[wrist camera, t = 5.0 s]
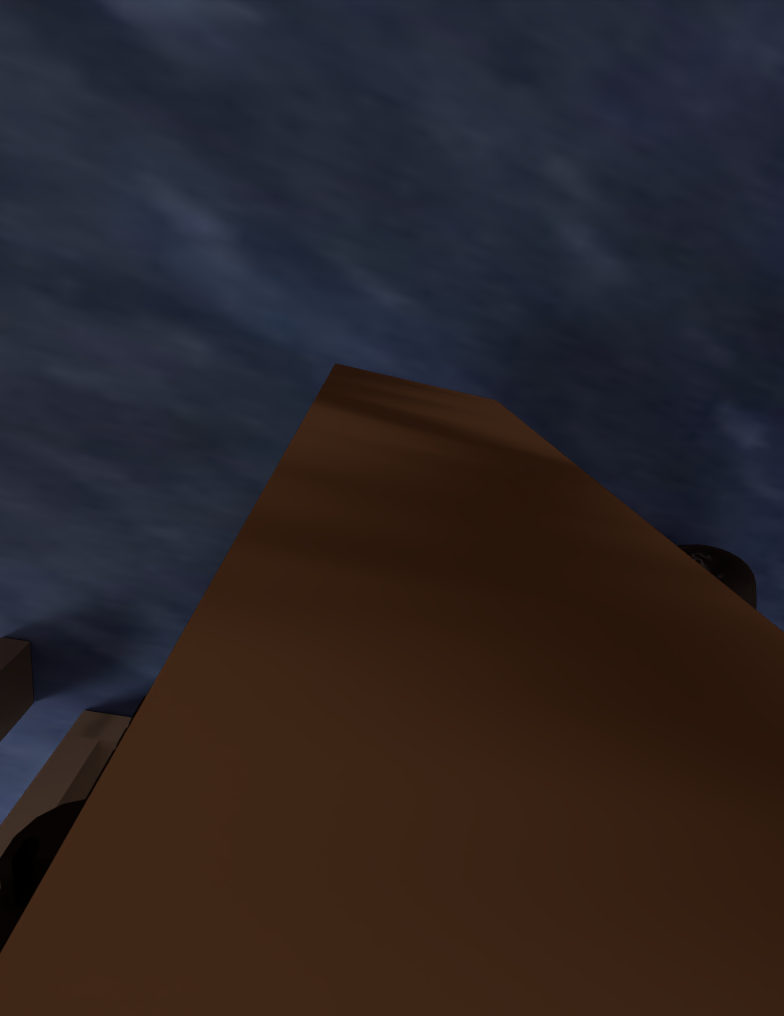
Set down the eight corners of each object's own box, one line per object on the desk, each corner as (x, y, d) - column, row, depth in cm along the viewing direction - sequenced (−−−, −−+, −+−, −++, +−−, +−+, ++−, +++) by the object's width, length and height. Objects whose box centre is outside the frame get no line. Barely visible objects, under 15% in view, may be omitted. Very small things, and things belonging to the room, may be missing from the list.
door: (267, 737, 16) (42, 1685, 5) (335, 363, 12) (-244, 1371, 1) (423, 758, 17) (521, 1644, 6) (542, 411, 12) (1962, 1338, 1)
